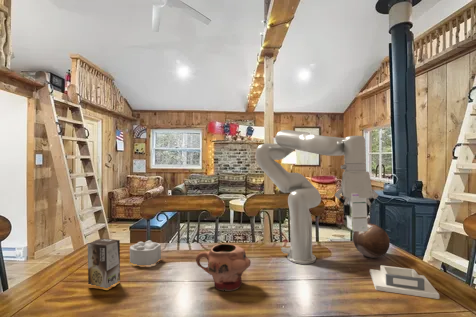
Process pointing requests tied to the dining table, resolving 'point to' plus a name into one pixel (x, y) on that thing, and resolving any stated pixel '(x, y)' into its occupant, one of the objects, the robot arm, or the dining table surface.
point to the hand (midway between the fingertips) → (356, 214)
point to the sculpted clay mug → (225, 265)
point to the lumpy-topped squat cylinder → (145, 253)
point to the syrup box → (357, 213)
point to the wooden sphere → (372, 241)
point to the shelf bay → (402, 282)
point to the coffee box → (104, 262)
